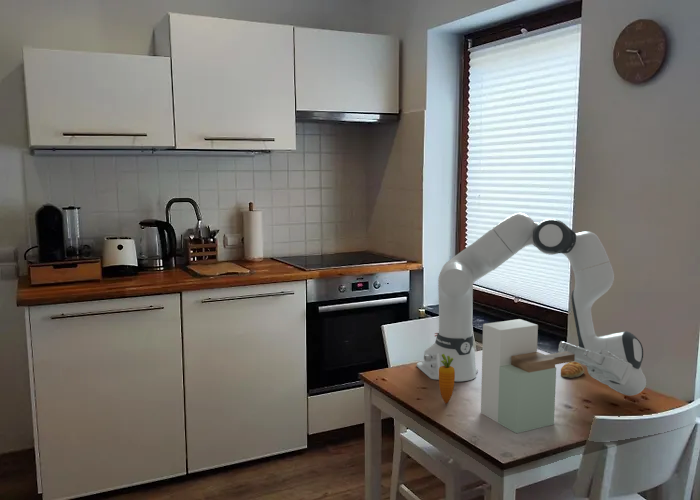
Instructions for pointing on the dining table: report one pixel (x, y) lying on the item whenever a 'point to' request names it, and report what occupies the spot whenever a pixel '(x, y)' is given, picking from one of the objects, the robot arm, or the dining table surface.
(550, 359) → the brown block
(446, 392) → the carrot
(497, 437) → the dining table surface
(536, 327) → the white two-tone stepped block
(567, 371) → the pastry
